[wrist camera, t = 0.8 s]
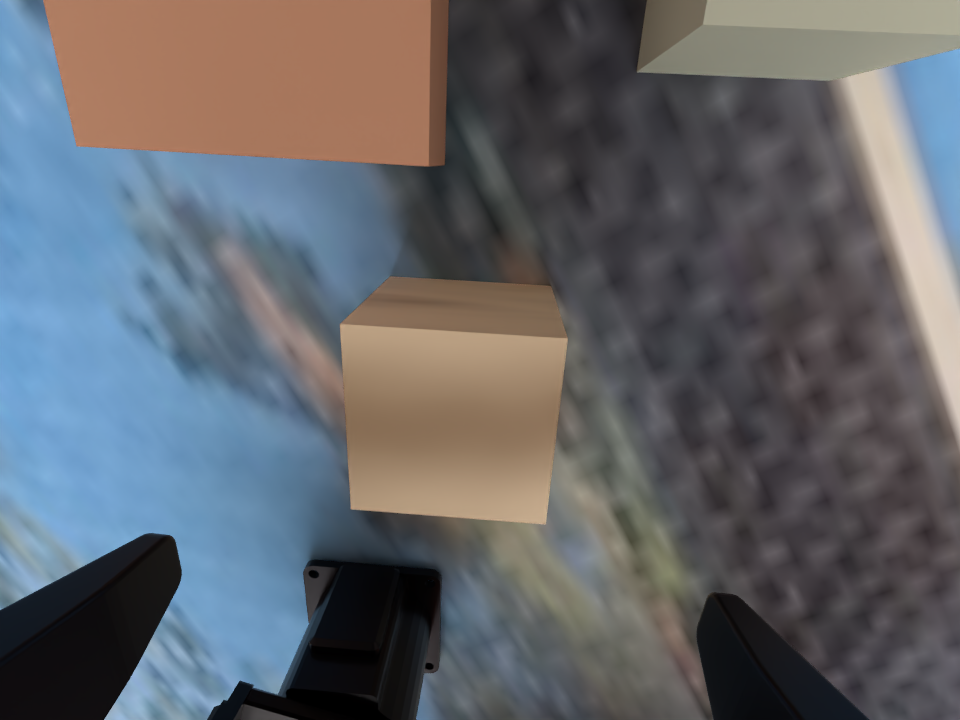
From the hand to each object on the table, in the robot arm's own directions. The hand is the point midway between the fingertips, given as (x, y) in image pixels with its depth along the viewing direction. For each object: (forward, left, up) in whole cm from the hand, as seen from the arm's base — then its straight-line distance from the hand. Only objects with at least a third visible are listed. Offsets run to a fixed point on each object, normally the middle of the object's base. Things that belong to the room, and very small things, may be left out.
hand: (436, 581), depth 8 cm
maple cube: (-1, 0, -12) cm, 12 cm away
